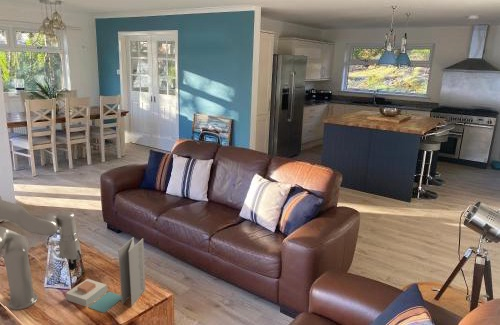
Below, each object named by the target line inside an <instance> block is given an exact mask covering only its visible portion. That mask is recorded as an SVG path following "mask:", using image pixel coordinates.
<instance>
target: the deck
mask: <svg viewBox="0 0 500 325" xmlns="http://www.w3.org/2000/svg"><path fill="white" fill-rule="evenodd" d="M85 281H88V282H92V283H95V284H96V287H95V288H94V289H92V290H91V291H90V292H88V293H87V294H86V293H84V292H81V291H78V290H77V287H78V286H80V285H81V284H83V283H84V282H85ZM107 292H108V285H107V284H106V283H102V282H100V281H96V280H93V279H89V278H86V279H85V280H84V281H82V282H80V283H79V284H77V285H76V286H74V287H72V288H71V289H70V290H68V291H67V292H65V300H66V301H69V302H72V303H74V304H77V305H80V306H83V307H85V308H88V307H89V306H90V305H92V304H93V303H94V302H96V301H97V300H98V299H99V298H101V297H102V296H103V295H105V294H106V293H107Z"/></svg>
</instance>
